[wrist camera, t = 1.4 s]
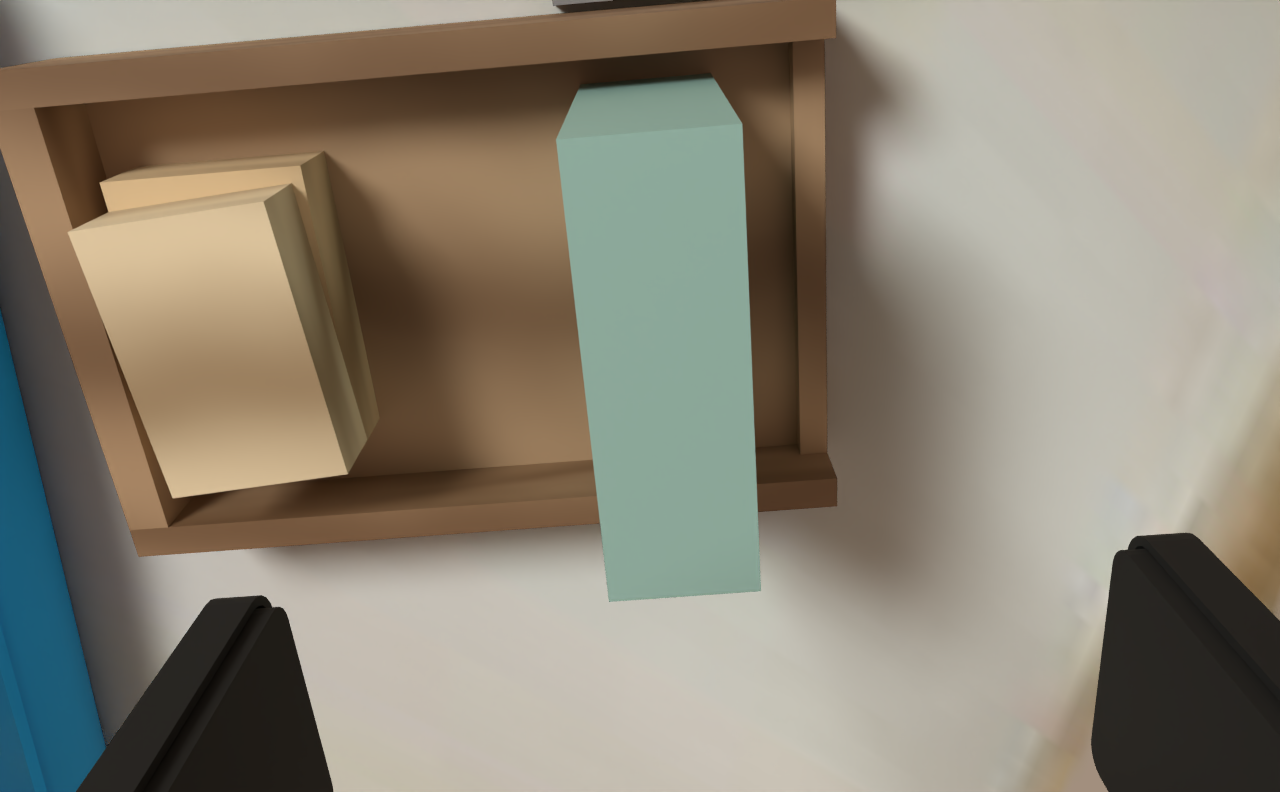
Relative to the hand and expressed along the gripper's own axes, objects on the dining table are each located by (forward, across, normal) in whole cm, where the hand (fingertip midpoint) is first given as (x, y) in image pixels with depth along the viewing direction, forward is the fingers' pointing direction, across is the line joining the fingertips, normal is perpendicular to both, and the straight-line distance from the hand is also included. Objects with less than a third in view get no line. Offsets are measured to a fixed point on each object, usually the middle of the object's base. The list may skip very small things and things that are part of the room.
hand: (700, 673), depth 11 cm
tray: (+16, +5, -1) cm, 17 cm away
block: (+15, 0, -1) cm, 15 cm away
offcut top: (+13, +10, 0) cm, 16 cm away
